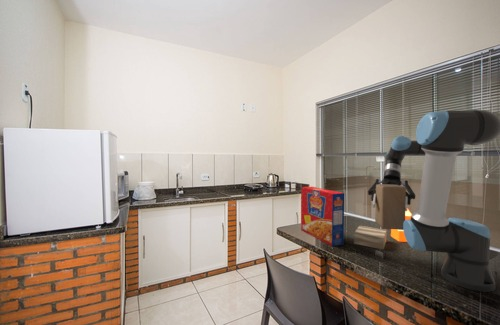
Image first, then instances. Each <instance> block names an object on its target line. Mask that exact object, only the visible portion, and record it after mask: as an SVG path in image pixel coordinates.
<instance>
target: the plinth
mask: <svg viewBox="0 0 500 325" xmlns="http://www.w3.org/2000/svg"><path fill="white" fill-rule="evenodd" d="M386 242H387V229H383V228H377V227H370V226H364V225H359V226H358V227H357V228H356V229H355V231H354V233H353V245H360V246H365V247H370V248H374V249H379V250H385V246H386Z"/></svg>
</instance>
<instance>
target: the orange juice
mask: <svg viewBox="0 0 500 325" xmlns="http://www.w3.org/2000/svg"><path fill="white" fill-rule="evenodd" d="M411 214H412V213H411V211H410V209H409V208H408V207H407V211H405V220H407V219H411ZM390 237H392V238H393V239H395V240H396V241H398V242H401V243H402V242H405V243H407V241H406V238H405V235H404V230H396V229H390Z"/></svg>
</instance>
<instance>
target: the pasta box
mask: <svg viewBox="0 0 500 325" xmlns="http://www.w3.org/2000/svg"><path fill="white" fill-rule="evenodd" d="M300 213H301V215H300V216H301V217H300V218H301V219H300V220H301V221H300V223H301V226H300V230H301V232H304V233H305V234H307V235H309V236H311V237H313V238H316V239H317V240H319V241H321V242H323V243H324V244H327V245H329V246H330V247H335V246H343V245H344V236H345V235H344V233H345V232H344V230H345V228H344V227H345V192H340V191H337V190H335V191H334V190H332V189H331V190H330V189H325V188H319V187H316V186H302V187H301V211H300Z"/></svg>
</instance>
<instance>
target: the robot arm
mask: <svg viewBox="0 0 500 325" xmlns="http://www.w3.org/2000/svg"><path fill="white" fill-rule="evenodd" d="M416 126H417V127H416V130H415V131H416V132H415V137H416V138H415V140H411V139H410V138H409V137H407V136H404V135H398V136H397V137H394V139H393V141H392V142H391V145H390V148H389V151H387V152H386V154H385V157H384V158H385V161H384V162H385V163H384V168H383V169H384V170H383V179H382V180H381V179H380V180H379V178H377V179H376V180H375V182H374V183H373V184H372V186H371V187H370V188H369V189H368V190H367V194H368V196H370V199H371V202H372V208H375V209H376V185H377V184H390V185H399V186H403V187H405V188H406V203H405V211H407V208H408V206H410V205H411V202H412V200H415V199H416V194H415V192H414V191H413V189H412V187H411V186H410V185H409V181H408V180H405V181H402V179H401V173H402V163H403V160H404V158H405V156H424V162H423V168H422V175H421V181H420V187H419V188H420V189H419V193H418V200H417V208H416V211H415V210H414V211H413V212H412V213H411V219H407V220H405V221H404V223H403V230H404V235H405V238H406V241H407V242H406V243H407V244H408V246H409V247H410V248H412V249H413V250H415V251H422V252H434V253H435V252H436V253H446V257H445V260H444V262H443V264H442V266H441V268H440V269H441V270H440V275H441V277H442V278H443V279H445V280H446V281H447V282H449V283H452V284H454V285H456V286H458V287H461V288H465V289H466V290H467V289H468V290H471V291H475V292H484V293H491V291H492V292H494V291H496V281H495V277H494V275H493V273H492V270H491V268H490V253H491V252H490V249H491V248H490V246H491V245H490V244H491V240H492V238H491V231H490V228H489V227H488V226H487V225H485V224H482V223H479V222H476V221H473V220H468V219H466V218H465V219H464V218H460V217H459V218H458V217H449V218H446V212H447V208H448V201H449V196H450V193H451V186H452V182H453V181H452V180H453V176H454V170H455V166H456V165H455V164H456V159H457V156H458V155H460V154H461V153H463V152H464V149H465V146H468V145H469V146H480V145H483V144H486V143H490V142H492V141H494V140H496V139H497V138H498V137H499V135H500V117H498V115H497V114H495V113H493V112H490V111H488V110H483V109H471V110H470V109H469V110H463V109H462V110H439V111H430V112H428V113H426V114H425V115H423V116H422V118H420V120H419V122H418V123H417V125H416Z"/></svg>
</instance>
